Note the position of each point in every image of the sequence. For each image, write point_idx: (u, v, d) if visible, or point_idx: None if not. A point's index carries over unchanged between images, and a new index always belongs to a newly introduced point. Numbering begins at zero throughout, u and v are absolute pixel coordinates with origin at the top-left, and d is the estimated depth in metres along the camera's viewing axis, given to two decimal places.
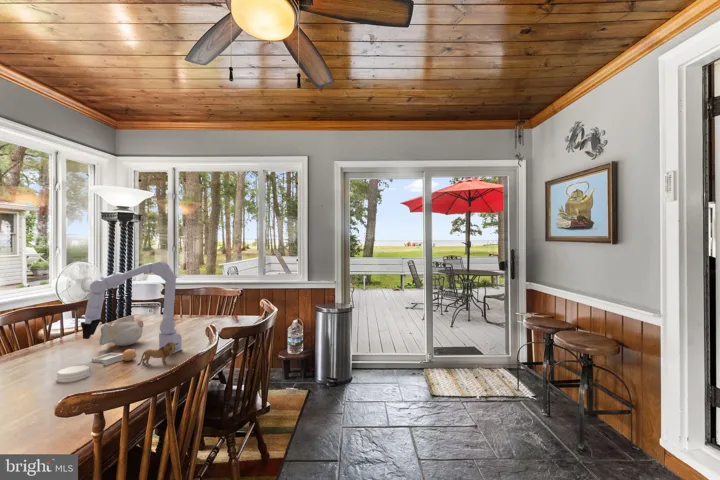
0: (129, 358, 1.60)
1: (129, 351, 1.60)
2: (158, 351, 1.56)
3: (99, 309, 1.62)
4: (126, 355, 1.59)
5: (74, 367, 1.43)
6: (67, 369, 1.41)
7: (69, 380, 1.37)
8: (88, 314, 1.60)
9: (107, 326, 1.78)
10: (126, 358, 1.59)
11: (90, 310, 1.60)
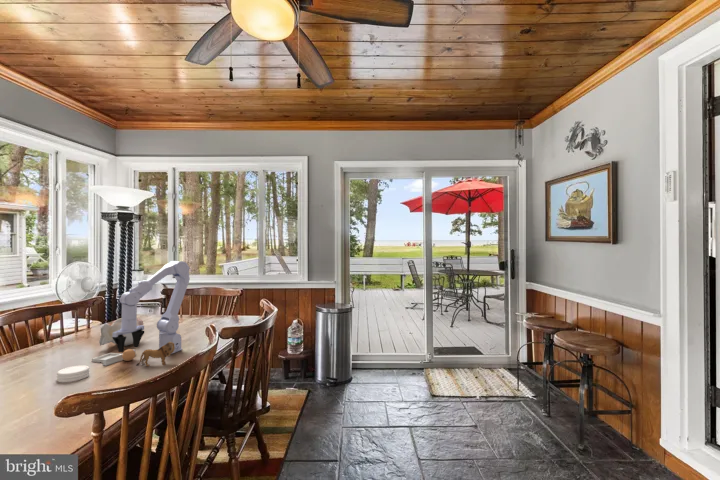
0: (129, 358, 1.60)
1: (129, 351, 1.60)
2: (157, 351, 1.56)
3: (130, 322, 1.60)
4: (126, 355, 1.59)
5: (74, 367, 1.43)
6: (67, 369, 1.41)
7: (69, 380, 1.37)
8: (121, 327, 1.59)
9: (107, 326, 1.78)
10: (126, 358, 1.59)
11: (122, 323, 1.59)
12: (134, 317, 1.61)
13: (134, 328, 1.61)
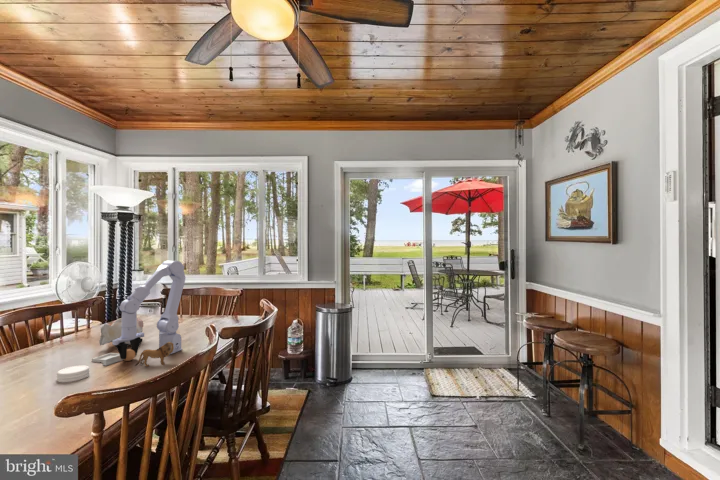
0: (129, 358, 1.60)
1: (129, 351, 1.60)
2: (156, 351, 1.56)
3: (130, 329, 1.60)
4: (126, 355, 1.59)
5: (74, 367, 1.43)
6: (67, 369, 1.41)
7: (69, 380, 1.37)
8: (121, 335, 1.59)
9: (107, 326, 1.78)
10: (126, 358, 1.59)
11: (122, 331, 1.59)
12: (134, 325, 1.61)
13: (134, 336, 1.61)
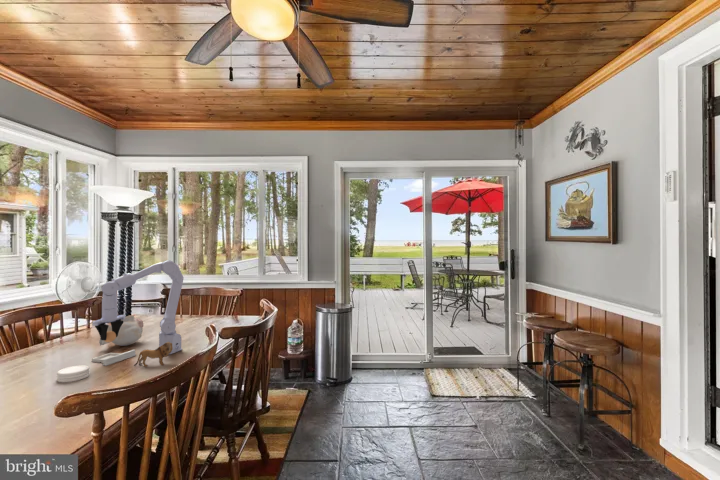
0: (109, 340, 1.61)
1: (110, 332, 1.62)
2: (154, 352, 1.56)
3: (110, 311, 1.61)
4: None
5: (74, 367, 1.43)
6: (67, 369, 1.41)
7: (69, 380, 1.37)
8: (102, 316, 1.61)
9: None
10: (106, 339, 1.61)
11: (102, 312, 1.61)
12: (112, 307, 1.62)
13: (114, 317, 1.63)
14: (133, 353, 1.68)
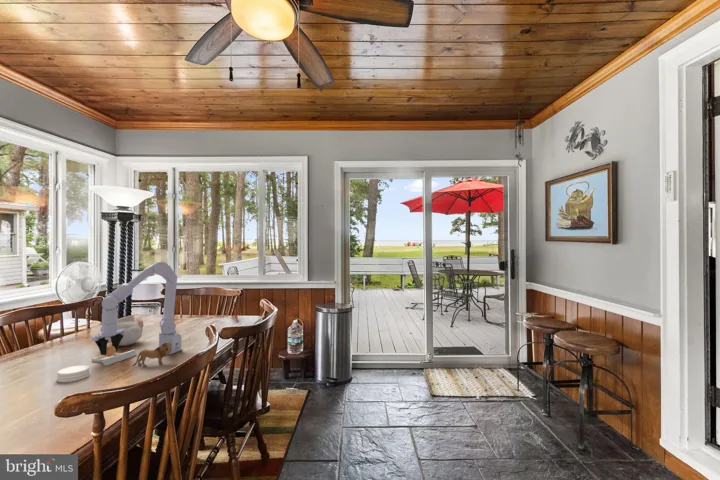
0: (109, 354, 1.61)
1: (109, 347, 1.62)
2: (154, 352, 1.55)
3: (110, 326, 1.61)
4: (106, 351, 1.61)
5: (74, 367, 1.43)
6: (67, 369, 1.41)
7: (69, 380, 1.37)
8: None
9: None
10: (106, 354, 1.61)
11: (102, 327, 1.61)
12: (112, 321, 1.62)
13: (114, 332, 1.63)
14: (133, 353, 1.68)
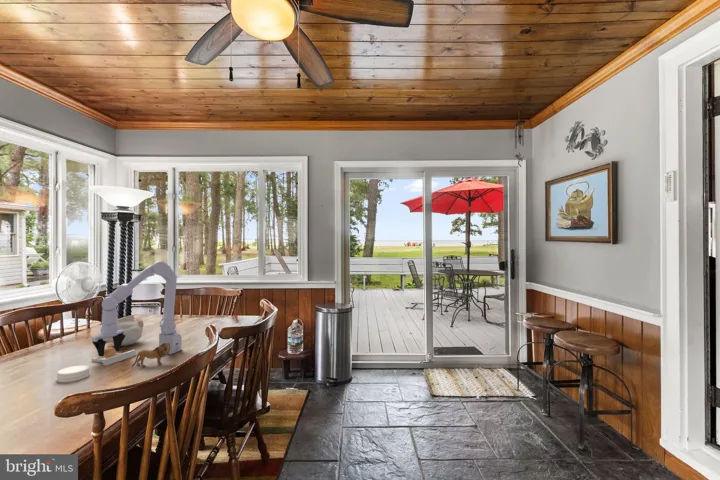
0: (109, 356, 1.61)
1: (109, 349, 1.62)
2: (152, 352, 1.55)
3: (110, 326, 1.61)
4: (106, 353, 1.61)
5: (74, 367, 1.43)
6: (67, 369, 1.41)
7: (69, 380, 1.37)
8: None
9: None
10: (106, 356, 1.61)
11: (102, 327, 1.61)
12: (112, 322, 1.62)
13: (114, 332, 1.63)
14: (133, 353, 1.68)
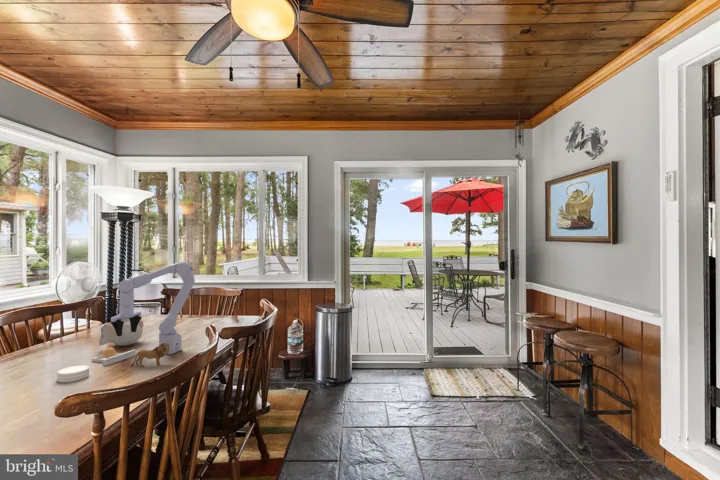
0: (109, 356, 1.61)
1: (109, 349, 1.62)
2: (151, 352, 1.55)
3: (127, 307, 1.67)
4: (106, 353, 1.61)
5: (74, 367, 1.43)
6: (67, 369, 1.41)
7: (69, 380, 1.37)
8: (119, 313, 1.67)
9: (107, 326, 1.78)
10: (106, 356, 1.61)
11: (120, 308, 1.67)
12: (128, 303, 1.68)
13: (131, 313, 1.69)
14: (133, 353, 1.68)
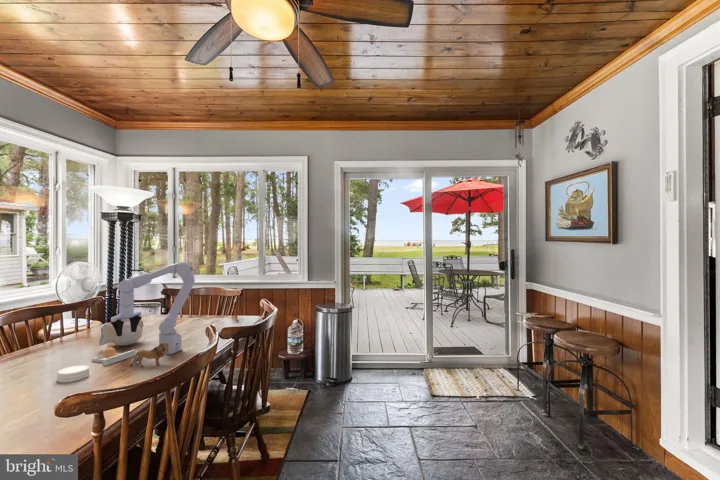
0: (109, 356, 1.61)
1: (109, 349, 1.62)
2: (151, 352, 1.55)
3: (127, 307, 1.67)
4: (106, 353, 1.61)
5: (74, 367, 1.43)
6: (67, 369, 1.41)
7: (69, 380, 1.37)
8: (119, 313, 1.67)
9: (107, 326, 1.78)
10: (106, 356, 1.61)
11: (120, 308, 1.67)
12: (128, 303, 1.68)
13: (131, 313, 1.69)
14: (133, 353, 1.68)
